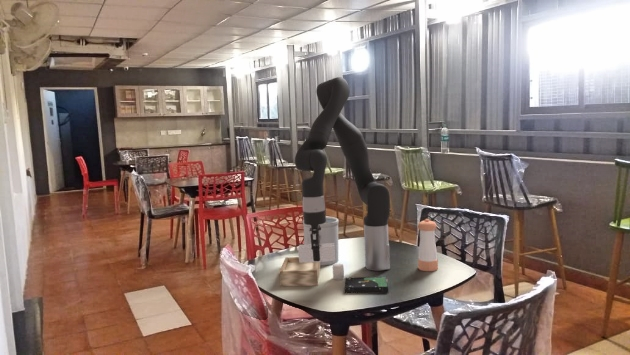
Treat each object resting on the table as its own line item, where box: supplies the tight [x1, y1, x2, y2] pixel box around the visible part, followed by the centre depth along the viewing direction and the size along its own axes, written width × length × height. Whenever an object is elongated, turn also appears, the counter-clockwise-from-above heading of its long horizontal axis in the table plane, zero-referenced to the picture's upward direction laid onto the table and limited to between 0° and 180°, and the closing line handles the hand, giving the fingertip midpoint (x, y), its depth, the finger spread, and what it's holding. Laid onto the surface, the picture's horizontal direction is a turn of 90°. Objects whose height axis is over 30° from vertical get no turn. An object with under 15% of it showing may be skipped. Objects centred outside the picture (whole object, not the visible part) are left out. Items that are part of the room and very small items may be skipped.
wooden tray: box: [279, 256, 321, 287], centre depth 179 cm, size 13×17×6 cm
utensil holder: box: [302, 216, 339, 267], centre depth 199 cm, size 15×15×18 cm
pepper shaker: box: [417, 218, 439, 272], centre depth 182 cm, size 7×7×19 cm
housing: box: [297, 243, 335, 263], centre depth 162 cm, size 12×4×6 cm, turn 87°
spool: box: [332, 263, 345, 281], centre depth 176 cm, size 4×4×5 cm
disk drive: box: [343, 276, 390, 294], centre depth 165 cm, size 10×3×15 cm
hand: (317, 258), depth 163 cm, fingers closed on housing, 4 cm apart
